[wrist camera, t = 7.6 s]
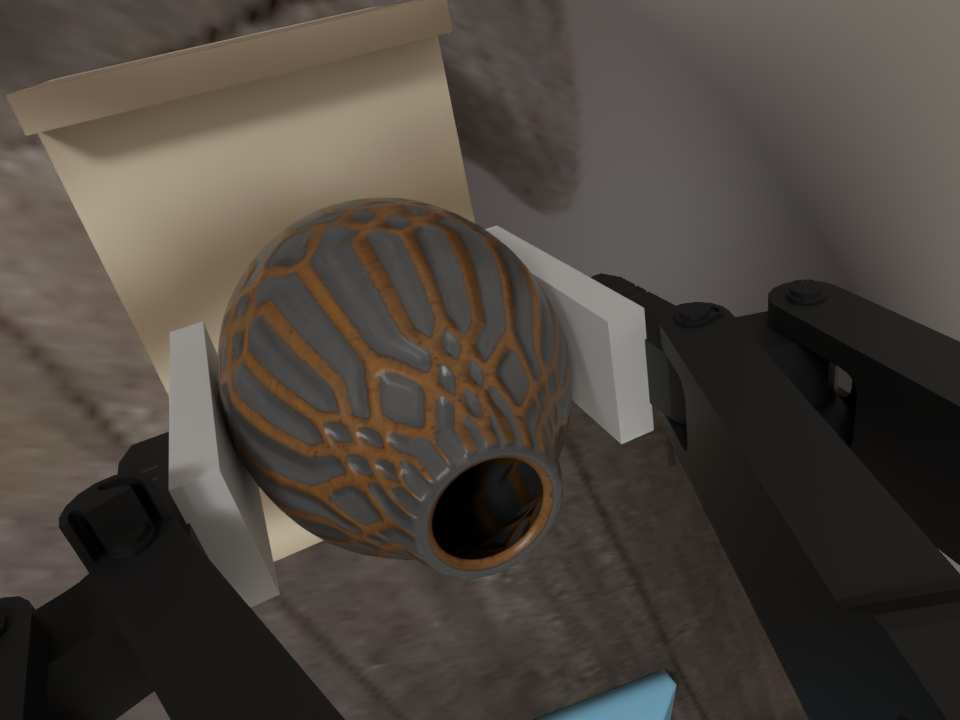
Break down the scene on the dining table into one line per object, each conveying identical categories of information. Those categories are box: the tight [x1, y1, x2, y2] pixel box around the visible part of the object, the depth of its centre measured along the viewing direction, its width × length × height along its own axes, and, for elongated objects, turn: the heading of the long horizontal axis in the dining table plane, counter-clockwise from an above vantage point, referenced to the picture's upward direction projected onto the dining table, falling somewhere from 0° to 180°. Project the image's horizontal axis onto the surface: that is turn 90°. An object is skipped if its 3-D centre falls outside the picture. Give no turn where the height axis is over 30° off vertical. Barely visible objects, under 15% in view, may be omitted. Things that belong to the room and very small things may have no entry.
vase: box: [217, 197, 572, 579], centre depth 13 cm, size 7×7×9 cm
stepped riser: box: [5, 0, 475, 562], centre depth 28 cm, size 22×12×10 cm, turn 12°
